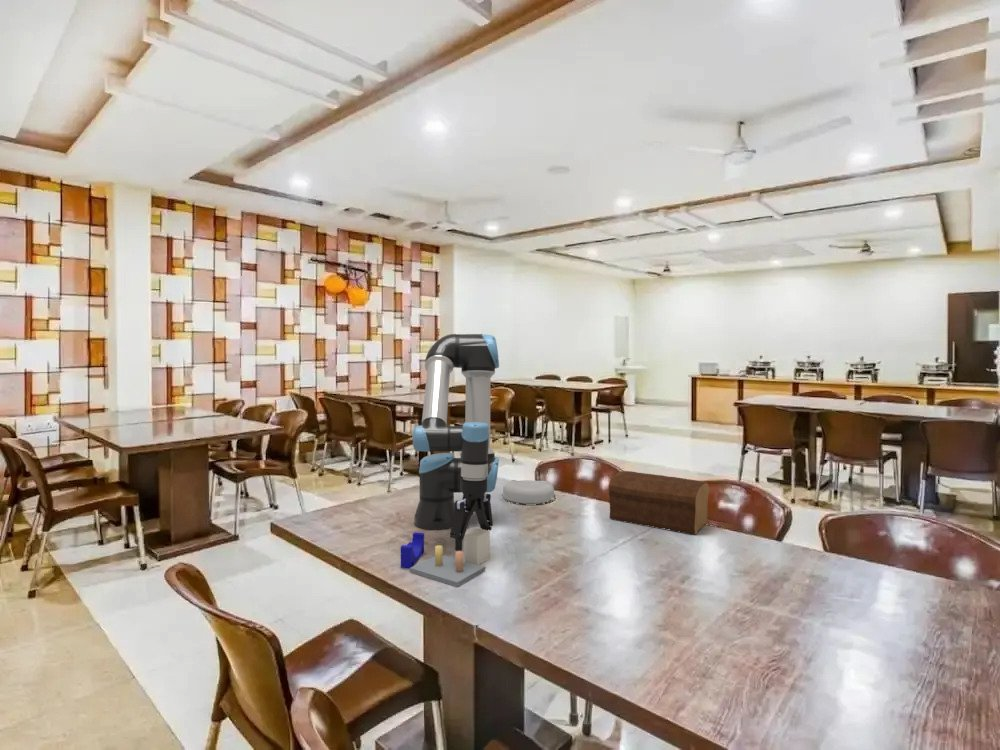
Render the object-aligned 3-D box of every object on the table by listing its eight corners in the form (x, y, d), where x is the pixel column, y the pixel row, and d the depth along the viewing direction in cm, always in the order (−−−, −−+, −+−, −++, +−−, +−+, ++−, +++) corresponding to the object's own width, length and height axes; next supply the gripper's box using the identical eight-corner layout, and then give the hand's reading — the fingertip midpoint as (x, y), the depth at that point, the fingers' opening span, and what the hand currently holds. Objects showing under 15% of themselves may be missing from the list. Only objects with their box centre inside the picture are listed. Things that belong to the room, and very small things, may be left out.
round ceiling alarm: (492, 505, 214) (492, 489, 214) (502, 489, 239) (502, 474, 238) (557, 509, 210) (558, 493, 209) (561, 492, 234) (562, 477, 234)
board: (438, 558, 160) (438, 536, 160) (484, 571, 151) (485, 548, 151) (409, 572, 150) (409, 549, 150) (457, 587, 141) (457, 562, 141)
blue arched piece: (409, 552, 165) (409, 532, 165) (424, 553, 164) (424, 532, 164) (395, 568, 153) (395, 546, 153) (411, 569, 152) (411, 547, 152)
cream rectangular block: (472, 554, 163) (472, 527, 163) (489, 558, 160) (489, 530, 159) (459, 560, 158) (460, 532, 158) (477, 565, 155) (477, 536, 154)
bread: (694, 537, 179) (696, 487, 179) (607, 520, 196) (607, 474, 195) (708, 522, 194) (710, 476, 194) (626, 508, 211) (627, 465, 210)
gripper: (486, 470, 169) (483, 544, 169) (437, 482, 150) (435, 565, 150) (507, 474, 164) (504, 550, 165) (460, 486, 146) (457, 571, 146)
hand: (471, 557), depth 158 cm, fingers open, 10 cm apart
